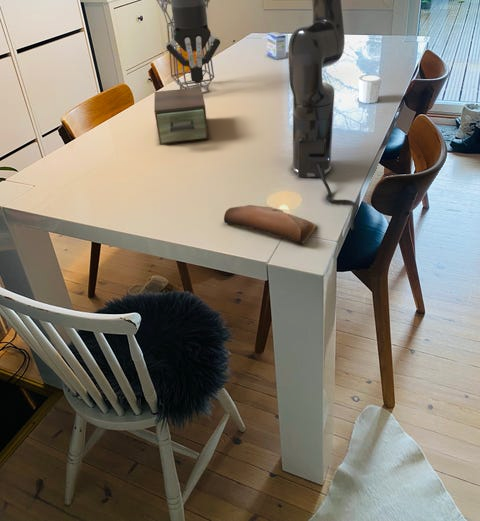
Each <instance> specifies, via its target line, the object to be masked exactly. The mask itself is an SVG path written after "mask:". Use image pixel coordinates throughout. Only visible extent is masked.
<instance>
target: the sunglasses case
mask: <svg viewBox="0 0 480 521" xmlns="http://www.w3.org/2000/svg"><path fill="white" fill-rule="evenodd" d="M223 221H224V223H226V224H230V225H233V226H239V227H243V228H249V229H253V230H256V231H259V232H263V233H268V234H271V235H273V236H276V237H282V238H285V239H288V240H291V241H294V242H297V243H300V244H302V245H303V244H305V243H307V241H308V240H309V238H311V236H312V234H313V232H314V231H315V230H316V229H317V225H316V224H315V223H313V222H312V221H310V220H308V219H305V218H302V217H300V216H297V215H293V214H290V213H287V212H284V210H282V209H278V208H275V207H273V206H262V205H253V204H248V205H242V206H241V205H239V206H235V207H234V206H233V207H228V209H226V211H225V213H224V215H223Z"/></svg>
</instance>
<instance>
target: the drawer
mask: <svg viewBox="0 0 480 521" xmlns="http://www.w3.org/2000/svg"><path fill="white" fill-rule="evenodd" d="M157 118H158V124H159V130H160V136H161V142H162V143H164V142H173V141H182V140H191V139H200V138H206V129H205V119H204V110H203V109H196V110H186V111H176V112H167V113H160V114H157Z"/></svg>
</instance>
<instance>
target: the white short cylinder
mask: <svg viewBox="0 0 480 521" xmlns="http://www.w3.org/2000/svg"><path fill="white" fill-rule="evenodd" d="M381 84H382V76H379V75H377V74H365V75H361V76H360V77H358V100H359V102H360V103H362V104H375V103H377V102H378V98H379V93H380V89H381Z"/></svg>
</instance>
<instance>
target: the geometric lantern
mask: <svg viewBox="0 0 480 521" xmlns="http://www.w3.org/2000/svg"><path fill="white" fill-rule="evenodd" d="M155 1H156V2H157V4H158V6H159V8H160V10H161V11H162V13H163V15H164V19H165V22H166V32H167V43H169V42H170V41H171V40H172V39H173V38H174V37H173V34H174V31H175V28H174V21H173V15H172V16H171V17H170V15H169V12H168V10H167V9H168V5H171V2H170V0H155ZM210 1H211V0H205V4H206V9H208V8H209V3H210ZM167 18H168V19H167ZM168 20H169V22H168ZM170 35H171V36H170ZM170 37H171V40H170ZM209 41H210V39H209V40H208V42H207V44H206V45H205V47H204V49H203V50H202V58H203V57H204V56H205V53H206V52H207V50H208V49H209V47H210V44H209ZM178 46H179V45H178ZM178 48H179V53H180V54H181V55H182V56H183V51H182V50H183V49H182V48H181V47H180V46H179V47H178ZM207 48H208V49H207ZM168 54H169V56H168V57H169V66H170V67H169V68H170V78H171V79H172V80H173V81H174V82H175V84H177V85H178V86H179V89H188V88H197V87H201V88H204V89H206V91H205V90H204V91H202V94H205V93H208V92H209V91H210V88H209V85H210V84H211V82H212V81H213V80H214V79H215V73H214V66H213V60H212V59H213V57H212V58H211V60H210V61H209V63H207V65H206V64H204V65H203V66H204V69H202V71H203V77H205V75H206V74H208V77H209V79H203V80H202V81H201V83H198V84H195V81H192V79H191V80H187V79H186V78H187V77H186V74H191V73H190V70H189V71H185V66H183V65H182V64H181V68H182V72H179V67H178V66H179V65H178V60H177V59H176V58H175V57H174V56H173V55H172V54H171V53H170V52H169V51H168ZM172 61H173V64H172ZM210 68H211V69H210ZM173 73H174V74H173ZM181 75H183V82H181V80H180V78H179V76H181ZM202 83H204V84H202Z"/></svg>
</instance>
